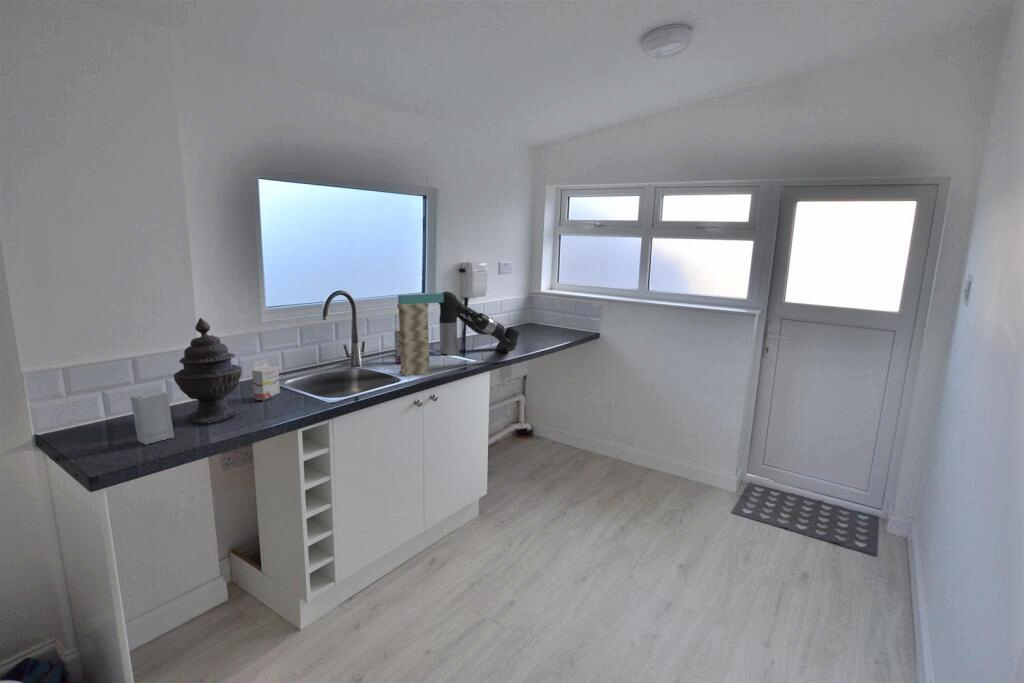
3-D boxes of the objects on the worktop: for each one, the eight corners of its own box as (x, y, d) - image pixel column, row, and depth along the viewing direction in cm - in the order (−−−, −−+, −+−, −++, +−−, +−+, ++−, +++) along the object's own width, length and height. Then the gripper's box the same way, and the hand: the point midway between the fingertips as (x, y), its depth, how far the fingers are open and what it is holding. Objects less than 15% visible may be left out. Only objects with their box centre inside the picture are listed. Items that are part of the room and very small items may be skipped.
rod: (440, 301, 248) (440, 292, 247) (443, 302, 245) (443, 293, 244) (398, 304, 238) (398, 295, 238) (401, 304, 235) (400, 295, 234)
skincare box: (167, 434, 167) (161, 388, 164) (175, 439, 164) (169, 391, 161) (136, 442, 161) (129, 394, 158) (143, 447, 157) (137, 398, 154)
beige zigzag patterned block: (425, 370, 251) (422, 302, 245) (430, 373, 245) (428, 303, 239) (400, 373, 245) (397, 303, 240) (405, 376, 239) (402, 305, 234)
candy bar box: (395, 363, 266) (393, 330, 263) (398, 361, 270) (397, 329, 268) (417, 363, 264) (416, 331, 262) (420, 361, 269) (418, 329, 266)
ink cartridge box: (264, 402, 202) (261, 363, 199) (254, 400, 203) (250, 362, 200) (281, 396, 209) (278, 359, 207) (271, 394, 211) (267, 358, 208)
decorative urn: (237, 423, 175) (220, 317, 170) (170, 431, 172) (151, 323, 167) (256, 408, 195) (242, 312, 190) (197, 414, 192) (180, 317, 187)
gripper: (488, 332, 253) (460, 318, 244) (475, 328, 265) (448, 314, 256) (495, 318, 253) (467, 303, 245) (481, 315, 265) (454, 300, 257)
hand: (457, 309), depth 251 cm, fingers open, 8 cm apart
